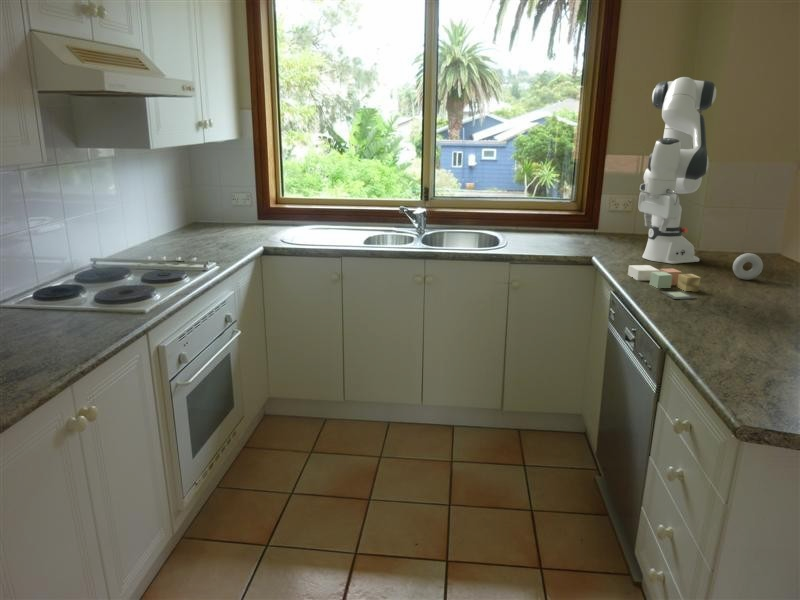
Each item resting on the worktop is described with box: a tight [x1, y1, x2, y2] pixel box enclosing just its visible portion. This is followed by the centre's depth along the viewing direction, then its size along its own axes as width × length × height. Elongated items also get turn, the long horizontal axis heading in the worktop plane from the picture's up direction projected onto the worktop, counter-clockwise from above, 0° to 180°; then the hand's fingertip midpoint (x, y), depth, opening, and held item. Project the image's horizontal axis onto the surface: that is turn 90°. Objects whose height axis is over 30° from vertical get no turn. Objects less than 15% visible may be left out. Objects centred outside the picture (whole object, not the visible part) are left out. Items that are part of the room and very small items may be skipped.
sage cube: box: [649, 272, 672, 289], centre depth 211 cm, size 5×5×5 cm
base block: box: [627, 264, 661, 281], centre depth 224 cm, size 8×8×4 cm
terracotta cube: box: [659, 268, 682, 286], centre depth 216 cm, size 5×5×5 cm
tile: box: [661, 290, 697, 300], centre depth 202 cm, size 8×8×1 cm
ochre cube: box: [676, 273, 702, 292], centre depth 209 cm, size 5×5×5 cm
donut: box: [732, 252, 764, 281], centre depth 222 cm, size 10×4×10 cm, turn 77°
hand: (654, 228), depth 207 cm, fingers open, 8 cm apart
